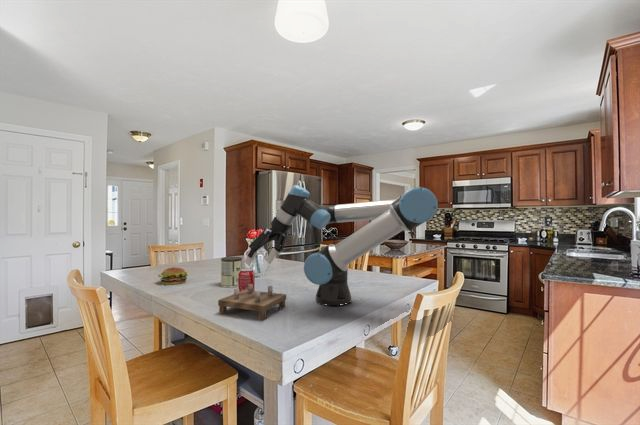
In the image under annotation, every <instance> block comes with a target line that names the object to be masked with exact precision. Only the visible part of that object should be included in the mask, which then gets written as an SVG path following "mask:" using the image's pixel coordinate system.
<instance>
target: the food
mask: <svg viewBox="0 0 640 425" xmlns="http://www.w3.org/2000/svg"><path fill="white" fill-rule="evenodd" d="M157 276H158V278H159V279H160V283H161V284H162V285H165V284H166V285H168V286H169V285H171V286H172V285H173V286H174V284H175V285H179V284H180V285H181V284H183V283H184V284H185V283H186V281H187V279H188V278H187V277H188V272H187V271H185V269H184V268H182V267H176V266H175V267H169V268H166V269H164V270H163V271H162V272H161V273H160V274H157ZM166 285H165V286H166Z"/></svg>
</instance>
